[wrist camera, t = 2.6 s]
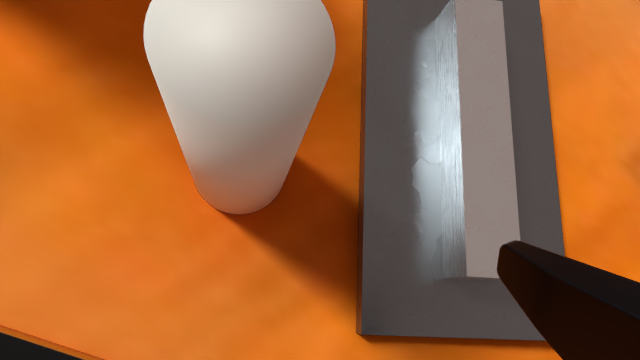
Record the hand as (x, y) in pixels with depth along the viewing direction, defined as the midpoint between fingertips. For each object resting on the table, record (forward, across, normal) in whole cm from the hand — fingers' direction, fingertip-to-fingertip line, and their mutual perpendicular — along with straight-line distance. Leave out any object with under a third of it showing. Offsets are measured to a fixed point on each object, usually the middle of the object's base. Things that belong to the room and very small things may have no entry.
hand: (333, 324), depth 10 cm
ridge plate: (+13, -13, +6) cm, 20 cm away
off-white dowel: (+15, 0, +4) cm, 15 cm away
